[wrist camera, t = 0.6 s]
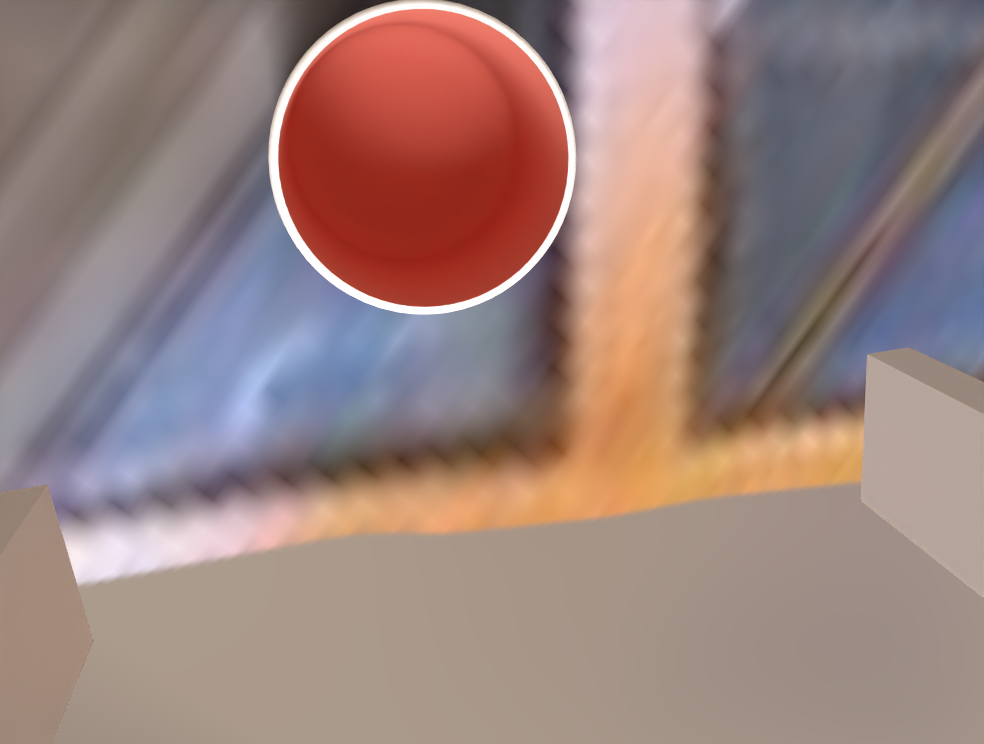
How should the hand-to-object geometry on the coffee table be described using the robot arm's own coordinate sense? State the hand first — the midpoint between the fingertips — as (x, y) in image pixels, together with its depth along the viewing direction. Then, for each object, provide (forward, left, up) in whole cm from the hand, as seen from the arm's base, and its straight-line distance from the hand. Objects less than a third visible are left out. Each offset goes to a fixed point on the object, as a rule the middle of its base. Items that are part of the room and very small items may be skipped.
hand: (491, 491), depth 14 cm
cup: (-3, +2, -27) cm, 27 cm away
